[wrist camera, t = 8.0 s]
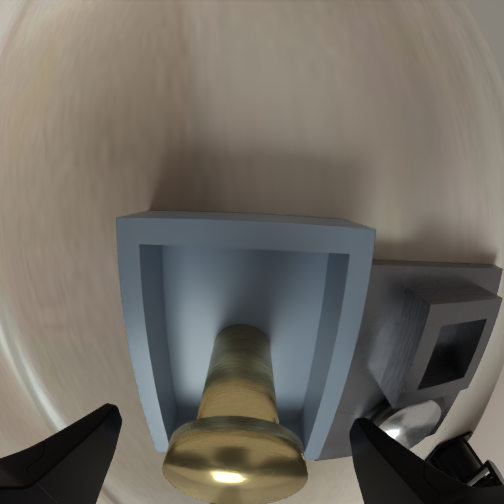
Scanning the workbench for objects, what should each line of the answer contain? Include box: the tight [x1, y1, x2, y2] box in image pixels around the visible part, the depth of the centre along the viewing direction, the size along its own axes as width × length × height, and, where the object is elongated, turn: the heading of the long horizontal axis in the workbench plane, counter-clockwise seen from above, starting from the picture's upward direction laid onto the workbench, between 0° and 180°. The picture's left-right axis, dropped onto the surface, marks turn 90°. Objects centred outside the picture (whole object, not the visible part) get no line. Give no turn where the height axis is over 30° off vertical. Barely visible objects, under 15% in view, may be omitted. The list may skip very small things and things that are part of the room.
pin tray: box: [116, 211, 376, 460], centre depth 13 cm, size 10×14×4 cm
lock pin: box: [162, 324, 308, 504], centre depth 10 cm, size 4×4×8 cm
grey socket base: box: [314, 260, 503, 461], centre depth 14 cm, size 12×16×4 cm
